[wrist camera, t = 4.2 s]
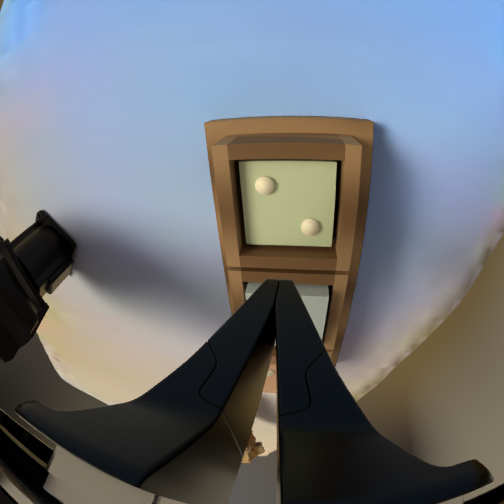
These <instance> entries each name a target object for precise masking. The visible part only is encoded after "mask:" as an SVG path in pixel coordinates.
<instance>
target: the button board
mask: <svg viewBox="0 0 504 504" xmlns="http://www.w3.org/2000/svg"><path fill="white" fill-rule="evenodd" d="M373 123H374V122H372V121H370V120H368V119H357V118H344V117H325V116H263V117H244V118H230V119H219V120H211V121H208V122H205V123H204V125H205V134H206V142H207V151H208V159H209V167H210V175H211V182H212V190H213V197H214V204H215V211H216V218H217V225H218V232H219V239H220V245H221V252H222V258H223V265H224V271H225V277H226V283H227V290H228V296H229V302H230V307H231V313H232V315H233V314H234V313H235V312H236V311H237V310H238V309H239V308H240V307H241V305H242V304H243V303H244V302H245V301H246V296H245V292H246V288H247V285H248V282H260V283H263V282H264V281H265V280H266V279H279V281H280V280H281V279H291V280H293V282H294V284H307V285H328V290H329V300H328V307H327V313H326V319H325V325H324V331H323V337H322V342H323V344H324V346H325V348H326V351H327V352H328V354H329V356H330V359H331V361H332V363H333V365H334V367H335V366H336V362H337V359H338V355H339V352H340V348H341V344H342V341H343V337H344V333H345V329H346V325H347V321H348V316H349V312H350V308H351V303H352V299H353V294H354V289H355V284H356V279H357V274H358V268H359V263H360V257H361V251H362V245H363V238H364V231H365V224H366V216H367V208H368V199H369V189H370V179H371V166H372V150H373ZM245 159H322V160H336V162H337V167H336V191H335V208H334V222H333V235H332V246H331V247H321V246H289V245H255V244H246V236H245V225H244V214H243V204H242V193H241V182H240V171H239V161H240V160H245ZM272 355H275V356H276V346H274V350H273V354H272Z"/></svg>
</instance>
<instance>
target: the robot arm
mask: <svg viewBox="0 0 504 504" xmlns="http://www.w3.org/2000/svg"><path fill="white" fill-rule="evenodd" d="M75 250H76V244H75V243H74V242H73V241H72V240H71V239H70V238H69V237H68V236H67V235H66V234H65V233H64V232H63V231H62V230H61V229H60V228H59V227H58V226H56V225H55V224H54V223H53V222H52V221H51V220H50V219H49V218H48V217H47V216H46V215H45V214H44V212H43V211H41V210H40V211H39V212H37V216H36V221H35V223H34V224H32V225H31V226H30V227H29V228H27V229H26V230H25V231H24V232H22V233H21V234H20V235H19V236H17V237H16V238H15V239H14V240H13V241H11V242H10V241H9V239H8V238H7V239H5V240H4V239H3V238H2V237H1V236H0V360H2V361H3V362H8V361H10V360H12V359H13V358H14V356H15V354H16V352H17V351H18V349H19V348H20V347H22V346H24V345H25V344H26V343H28V342H29V341H30V339H31V338H32V337H33V336H34V334H35V332H36V330H37V329H38V327H39V325H40V323H41V321H42V319H43V317H44V316H45V314H46V312H47V310H48V309H49V306H48V304H47V303H45V301H44V300H43V298H42V297H43V296H44V295H45V293H46V292H47V293H48V294H52V293H53V291H54V290H55V289H56V288H57V287H58V286H59V285H60V284H61V282H62V281H63V280H64V279H65V278H66V277H67V276H68V275H69V274H70V272H71V268H72V265H73V257H74V253H75ZM275 341H276V390H277V504H504V483H503V484H501V485H499V486H497V487H495V488H493V489H491V490H489V491H487V492H485V493H483V494H480V495H478V496H476V497H474V498H471V499H469V500H467V501H464V498H463V497H464V494H467V493H469V492H472V491H474V490H476V489H478V488H481V487H483V486H485V485H487V484H489V483H491V482H493V480H494V479H493V476H492V474H491V473H490V471H489V470H488V469H487V468H486V467H485V466H484V465H483V464H481V463H480V462H479V461H478V460H475V459H474V460H469V461H466V462H463V463H460V464H456V465H453V466H449V467H439V466H435V465H431V464H429V463H426V462H424V461H423V460H421V459H420V458H418V457H416V456H415V455H413V454H411V453H410V452H408V451H406V450H405V449H403V448H402V447H400V446H398V445H397V444H395V443H393V442H392V441H390V440H389V439H387V438H386V437H384V436H383V435H382V434H380V433H379V432H378V431H377V430H376V429H375V428H374V427H373V426H372V424H371V423H370V422H369V421H368V419H367V418H366V416H365V415H364V413H363V412H362V410H361V408H360V407H359V405H358V404H357V403H356V401H355V399H354V398H353V396H352V395H351V393H350V392H349V390H348V389H347V387H346V386H345V384H344V382H343V381H342V379H341V377H340V376H339V374H338V372H337V370H336V368H335V367H334V365H333V363H332V361H331V359H330V356H329V354H328V352H327V351H326V348H325V346H324V344H323V342H322V340H321V338H320V336H319V333H318V331H317V329H316V327H315V325H314V323H313V321H312V319H311V317H310V315H309V313H308V311H307V308H306V306H305V304H304V302H303V300H302V298H301V296H300V294H299V292H298V290H297V288H296V286H295V284H294V282H293V280H291V279H281V280H280V281H279V279H266V280H265V281H264V282H263V283H262V284H261V285H260V286H259V287H258V289H257V290H256V291H255V292H254V293H253V294H252V295H251V296H250V297H249V298H248V299H247V300H246V301H245V302H244V303H243V304H242V305H241V307H240V308H239V309H238V310H237V311H236V312H235V313H234V314H233V315H232V316H231V317H230V318H229V319H228V320H227V321H226V322H225V323H224V324H223V325H222V326H221V327H220V328H219V329H218V331H217V332H216V333H215V334H214V335H213V336H212V337H211V338H210V339H209V340H208V342H206V343H205V344H204V345H203V346H202V347H201V348H200V349H199V350H198V351H197V352H196V353H195V354H194V355H192V356H191V357H190V358H189V359H188V360H187V361H186V362H185V363H183V364H182V365H181V366H180V367H179V368H177V369H176V370H175V371H174V372H172V373H171V374H170V375H169V376H167V377H166V378H165V379H163V380H162V381H161V382H159V383H158V384H157V385H155V386H154V387H153V388H152V389H150V390H149V391H148V392H146V393H145V394H143V395H142V396H140V397H138V398H136V399H134V400H132V401H129V402H126V403H121V404H115V405H109V406H103V407H97V408H89V409H82V410H74V411H59V410H55V409H51V408H49V407H47V406H46V405H44V404H43V403H41V402H40V401H38V400H32V401H27V402H24V403H21V404H19V405H17V406H16V407H15V408H13V411H14V412H15V413H16V414H17V415H18V416H19V417H21V418H22V419H23V420H24V421H25V422H27V423H28V424H29V425H31V426H32V427H33V428H34V429H36V430H37V431H38V432H40V433H41V434H42V435H44V436H45V437H47V438H48V439H49V440H51V441H52V442H54V443H55V444H56V446H55V448H54V450H53V449H52V448H50V447H49V446H48V445H46V444H45V443H43V442H42V441H41V440H40V439H38V438H37V437H36V436H34V435H33V434H31V433H30V432H29V431H28V430H26V429H25V428H24V427H22V426H21V425H20V424H19V423H17V422H16V421H15V420H14V419H12V418H11V417H10V416H9V415H7V414H6V413H5V412H4V411H3V410H1V409H0V504H227V503H228V500H229V497H230V495H231V492H232V489H233V486H234V483H235V480H236V477H237V474H238V471H239V468H240V465H241V462H242V459H243V457H242V456H243V455H244V452H245V449H246V446H247V443H248V439H249V436H250V433H251V430H252V426H253V423H254V419H255V416H256V413H257V409H258V406H259V402H260V399H261V395H262V391H263V388H264V384H265V381H266V377H267V373H268V369H269V366H270V362H271V358H272V354H273V350H274V346H275Z"/></svg>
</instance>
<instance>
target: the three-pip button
mask: <svg viewBox="0 0 504 504" xmlns="http://www.w3.org/2000/svg"><path fill="white" fill-rule="evenodd" d="M262 392H269V393H277V390H276V356H275V355H272V358H271V362H270V366H269V369H268V373H267V377H266V381H265V384H264V388H263V391H262Z"/></svg>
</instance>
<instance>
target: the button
mask: <svg viewBox="0 0 504 504" xmlns="http://www.w3.org/2000/svg"><path fill="white" fill-rule="evenodd" d="M261 284H262V283H260V282H248V285H247V288H246V292H245V296H246V300H247V299H248V298H249V297H250V296H251V295H252V294H253V293H254V292H255V291H256V290H257V289H258V287H259V286H260V285H261ZM295 286H296V288H297V290H298V292H299V294H300V296H301V298H302V300H303V302H304V304H305V306H306V308H307V311H308V313H309V315H310V317H311V319H312V321H313V323H314V325H315V327H316V329H317V331H318V333H319V336H320V338H321V340H322V337H323V331H324V325H325V319H326V313H327V307H328V300H329V290H328V285H307V284H295ZM275 346H276V341H275Z"/></svg>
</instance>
